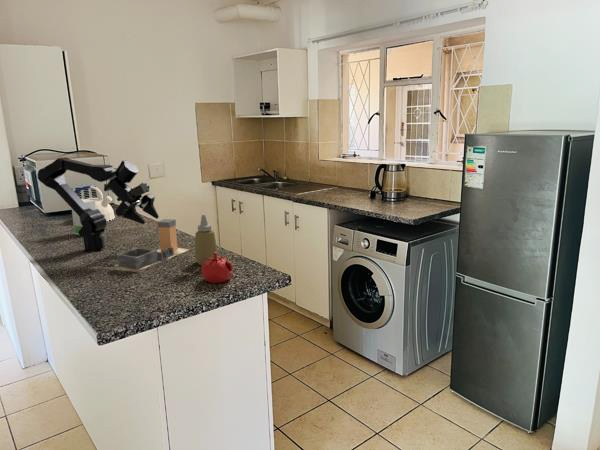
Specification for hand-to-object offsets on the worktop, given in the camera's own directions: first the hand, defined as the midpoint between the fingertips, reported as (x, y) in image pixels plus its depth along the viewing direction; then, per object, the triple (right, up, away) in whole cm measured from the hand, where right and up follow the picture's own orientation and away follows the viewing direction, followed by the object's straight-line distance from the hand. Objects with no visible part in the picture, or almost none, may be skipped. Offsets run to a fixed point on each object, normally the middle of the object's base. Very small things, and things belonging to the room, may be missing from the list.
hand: (151, 220), depth 171 cm
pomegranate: (+30, -19, -28) cm, 45 cm away
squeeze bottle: (+24, -16, -13) cm, 31 cm away
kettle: (-50, +1, +63) cm, 81 cm away
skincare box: (-41, -6, +35) cm, 54 cm away
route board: (+3, -14, -5) cm, 16 cm away
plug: (+6, -12, +1) cm, 13 cm away
